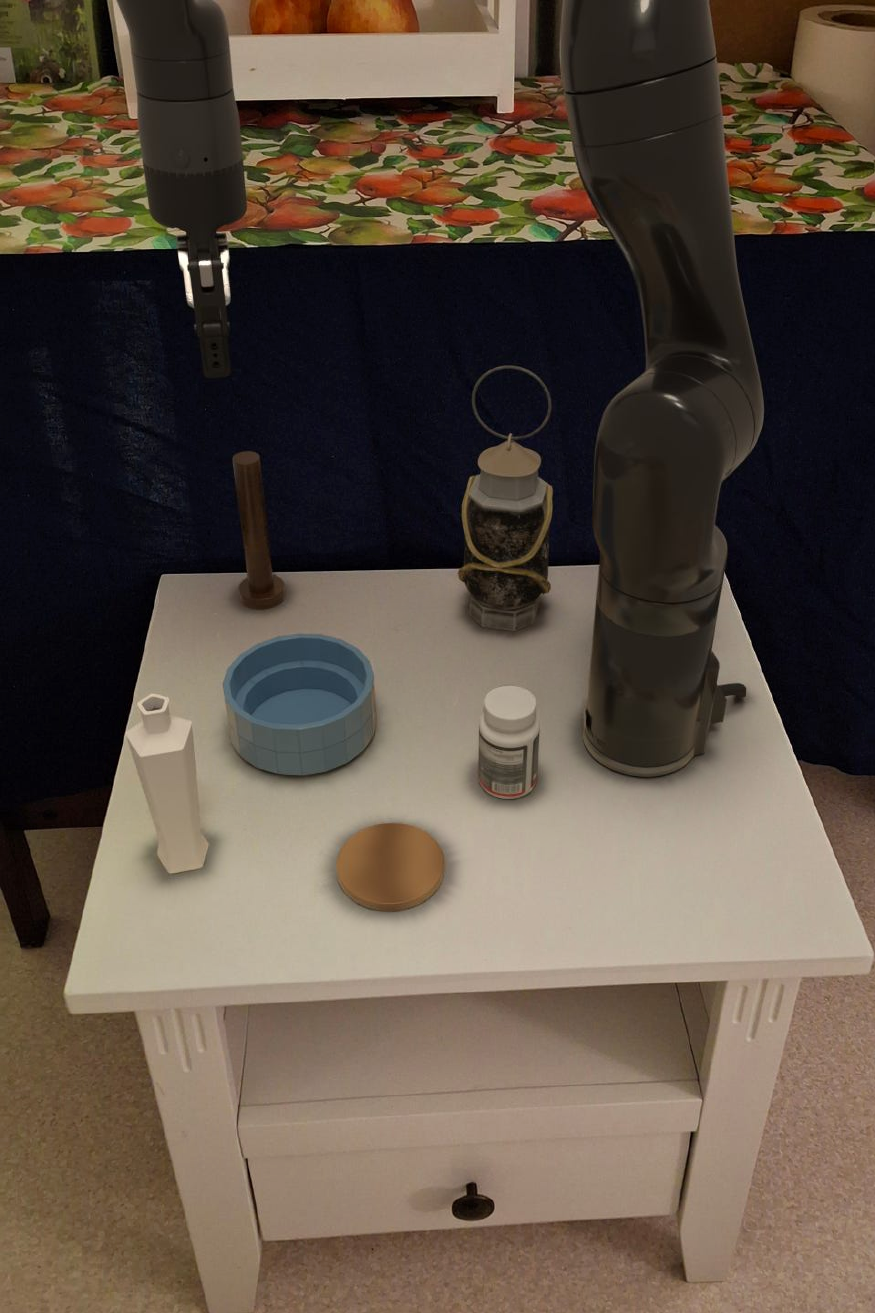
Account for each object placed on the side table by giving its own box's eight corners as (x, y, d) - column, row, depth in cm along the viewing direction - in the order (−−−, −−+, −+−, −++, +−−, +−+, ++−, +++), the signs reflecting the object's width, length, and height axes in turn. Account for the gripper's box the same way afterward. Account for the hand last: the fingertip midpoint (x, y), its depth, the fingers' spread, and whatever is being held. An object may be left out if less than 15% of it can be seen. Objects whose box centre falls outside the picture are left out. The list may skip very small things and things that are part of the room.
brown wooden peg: (282, 580, 120) (267, 442, 111) (288, 606, 117) (273, 466, 107) (237, 586, 119) (218, 448, 110) (242, 612, 116) (223, 472, 106)
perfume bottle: (140, 868, 91) (104, 717, 82) (171, 828, 94) (140, 678, 85) (193, 885, 90) (164, 734, 80) (223, 844, 93) (198, 694, 83)
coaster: (430, 821, 94) (430, 814, 94) (456, 900, 88) (456, 892, 88) (328, 840, 93) (328, 832, 93) (347, 920, 87) (346, 913, 86)
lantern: (556, 592, 118) (572, 350, 102) (542, 642, 112) (557, 393, 96) (468, 581, 120) (470, 341, 104) (450, 630, 113) (449, 382, 98)
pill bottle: (507, 751, 101) (510, 673, 95) (549, 781, 98) (554, 701, 93) (465, 779, 98) (466, 700, 93) (507, 810, 95) (510, 730, 90)
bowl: (361, 673, 109) (358, 624, 105) (388, 765, 99) (386, 715, 96) (223, 694, 106) (216, 645, 103) (238, 791, 97) (231, 740, 94)
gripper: (249, 180, 87) (266, 388, 97) (236, 123, 98) (253, 315, 108) (142, 186, 86) (171, 395, 96) (140, 127, 97) (167, 321, 107)
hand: (214, 352), depth 102 cm, fingers open, 8 cm apart
